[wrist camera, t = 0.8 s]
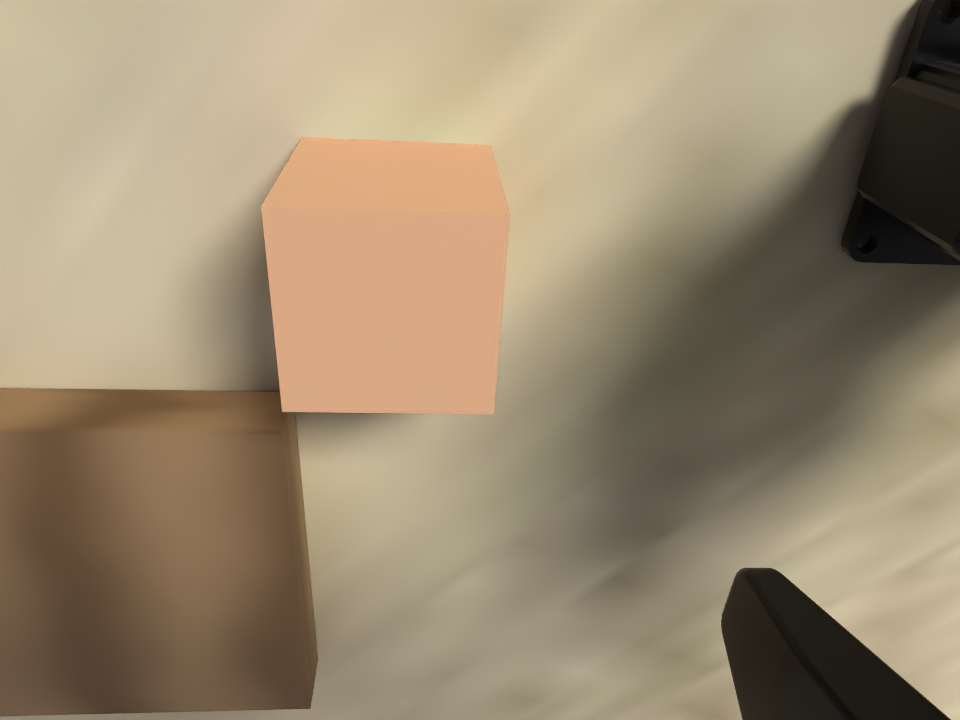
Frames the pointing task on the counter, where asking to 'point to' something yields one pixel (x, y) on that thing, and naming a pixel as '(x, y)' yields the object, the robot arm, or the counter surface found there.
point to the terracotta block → (387, 276)
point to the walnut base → (152, 553)
